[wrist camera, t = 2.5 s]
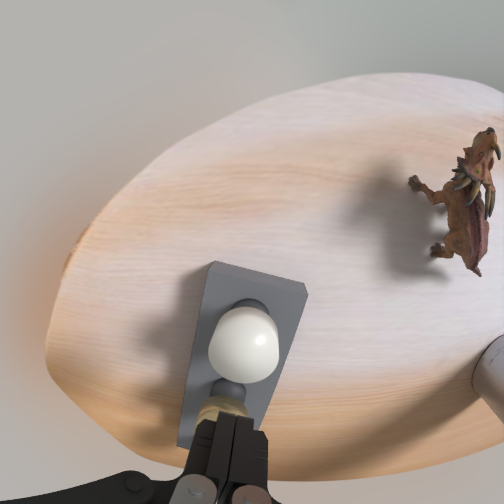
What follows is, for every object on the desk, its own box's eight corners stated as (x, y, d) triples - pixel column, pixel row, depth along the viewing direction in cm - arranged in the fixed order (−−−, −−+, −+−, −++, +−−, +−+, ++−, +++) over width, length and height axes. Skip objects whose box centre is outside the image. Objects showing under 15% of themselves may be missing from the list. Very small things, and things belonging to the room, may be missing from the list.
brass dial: (242, 432, 22) (239, 456, 19) (197, 421, 22) (190, 445, 19) (253, 402, 21) (251, 427, 18) (204, 390, 21) (196, 414, 18)
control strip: (245, 445, 30) (243, 469, 26) (182, 429, 30) (173, 453, 26) (304, 283, 25) (310, 300, 21) (215, 260, 26) (205, 273, 21)
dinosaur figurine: (397, 151, 23) (454, 135, 14) (444, 138, 22) (505, 123, 13) (431, 288, 25) (484, 325, 16) (472, 267, 24) (528, 294, 15)
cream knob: (268, 366, 20) (268, 389, 18) (210, 352, 21) (202, 373, 18) (285, 315, 20) (287, 334, 17) (222, 299, 20) (215, 316, 17)
